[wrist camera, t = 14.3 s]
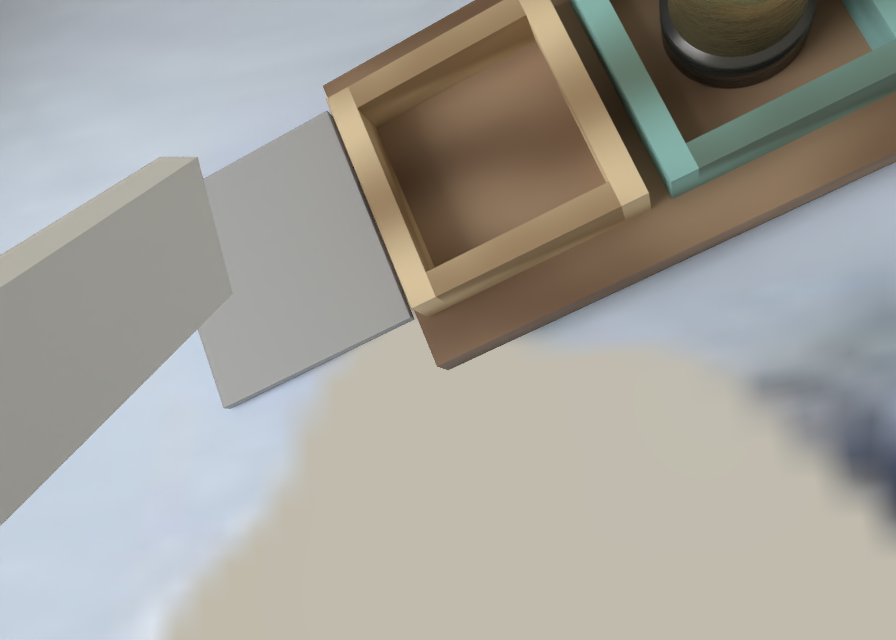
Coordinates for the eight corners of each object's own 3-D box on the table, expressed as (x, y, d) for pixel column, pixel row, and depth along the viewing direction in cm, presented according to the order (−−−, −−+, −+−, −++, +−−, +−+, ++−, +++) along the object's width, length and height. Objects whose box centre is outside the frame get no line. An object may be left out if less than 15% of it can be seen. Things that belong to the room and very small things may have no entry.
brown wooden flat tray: (337, 100, 35) (301, 64, 32) (777, -144, 32) (788, -214, 28) (448, 370, 32) (420, 360, 29) (954, 134, 28) (990, 92, 25)
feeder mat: (163, 208, 37) (156, 205, 37) (331, 115, 35) (326, 110, 35) (229, 408, 35) (223, 407, 34) (414, 319, 33) (410, 317, 32)
